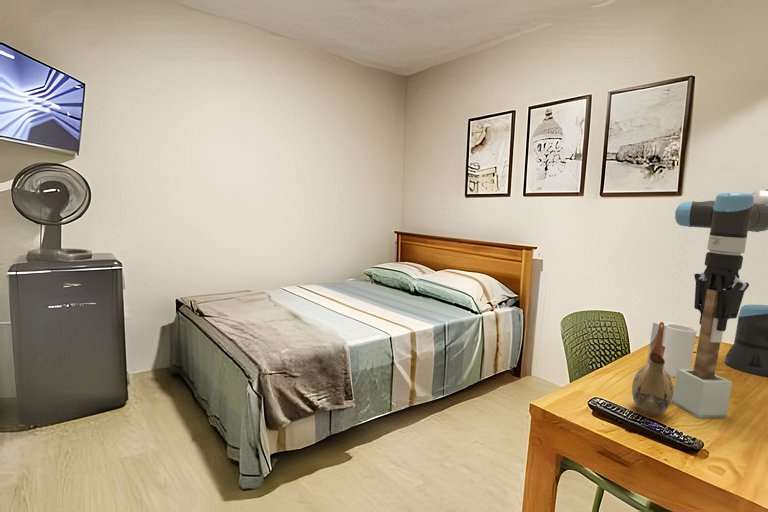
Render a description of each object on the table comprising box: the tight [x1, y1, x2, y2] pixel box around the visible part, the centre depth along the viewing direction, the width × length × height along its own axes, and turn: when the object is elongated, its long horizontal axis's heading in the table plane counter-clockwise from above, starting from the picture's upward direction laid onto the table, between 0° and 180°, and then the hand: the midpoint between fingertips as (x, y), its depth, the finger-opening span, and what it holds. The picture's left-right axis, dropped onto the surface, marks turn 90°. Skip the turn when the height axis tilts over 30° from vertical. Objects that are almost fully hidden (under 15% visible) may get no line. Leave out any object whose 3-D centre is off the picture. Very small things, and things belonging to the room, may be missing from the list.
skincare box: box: [647, 320, 681, 362], centre depth 145 cm, size 8×6×15 cm
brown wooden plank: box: [693, 289, 721, 379], centre depth 110 cm, size 4×2×24 cm, turn 98°
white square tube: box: [671, 368, 733, 419], centre depth 112 cm, size 8×8×10 cm
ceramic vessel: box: [631, 321, 674, 418], centre depth 108 cm, size 16×9×25 cm, turn 146°
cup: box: [663, 323, 697, 378], centre depth 137 cm, size 8×8×16 cm
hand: (709, 339), depth 110 cm, fingers closed on brown wooden plank, 2 cm apart
